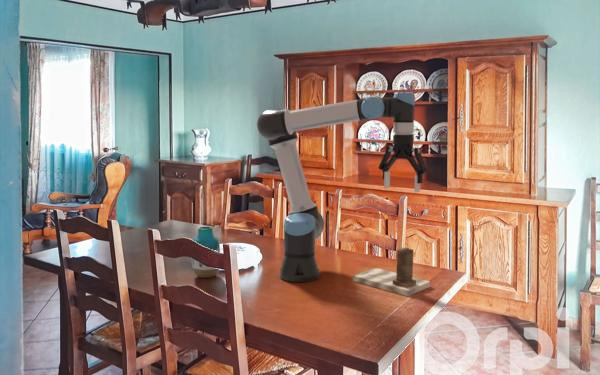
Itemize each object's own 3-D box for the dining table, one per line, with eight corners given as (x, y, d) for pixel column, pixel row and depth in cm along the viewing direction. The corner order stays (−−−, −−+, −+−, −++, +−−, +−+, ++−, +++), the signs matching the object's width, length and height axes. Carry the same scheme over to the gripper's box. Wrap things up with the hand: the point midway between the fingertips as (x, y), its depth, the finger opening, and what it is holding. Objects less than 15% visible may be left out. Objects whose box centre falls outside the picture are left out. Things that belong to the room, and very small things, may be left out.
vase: (190, 274, 209) (189, 225, 207) (218, 271, 213) (217, 223, 210) (193, 282, 199) (192, 231, 197) (222, 279, 203) (221, 229, 200)
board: (353, 280, 201) (353, 275, 201) (375, 272, 211) (375, 267, 211) (408, 296, 185) (408, 290, 185) (429, 286, 195) (430, 281, 195)
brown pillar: (392, 284, 192) (393, 247, 190) (401, 280, 196) (402, 245, 194) (407, 287, 188) (408, 251, 186) (415, 284, 192) (417, 248, 190)
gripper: (438, 134, 197) (436, 192, 200) (381, 132, 214) (380, 185, 217) (427, 135, 192) (425, 194, 195) (370, 133, 209) (369, 187, 212)
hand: (401, 190), depth 206 cm, fingers open, 13 cm apart
